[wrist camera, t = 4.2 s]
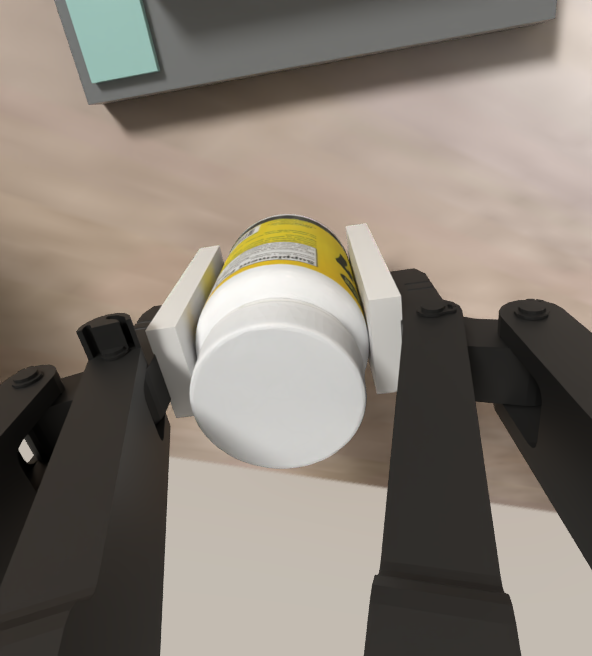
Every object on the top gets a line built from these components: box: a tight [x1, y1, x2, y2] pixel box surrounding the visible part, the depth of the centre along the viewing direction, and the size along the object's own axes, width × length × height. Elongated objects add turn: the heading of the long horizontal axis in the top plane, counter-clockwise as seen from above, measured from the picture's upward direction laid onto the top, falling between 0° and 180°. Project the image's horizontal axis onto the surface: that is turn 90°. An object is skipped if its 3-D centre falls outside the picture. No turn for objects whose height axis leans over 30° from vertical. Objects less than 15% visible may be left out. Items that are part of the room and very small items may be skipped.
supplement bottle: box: [190, 214, 369, 469], centre depth 14 cm, size 5×5×8 cm
